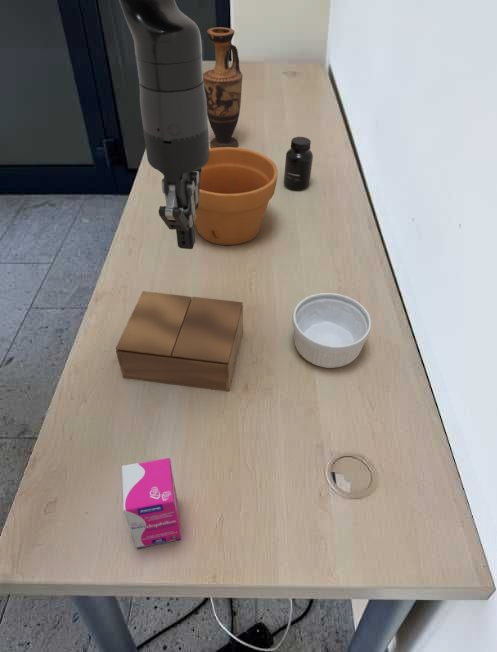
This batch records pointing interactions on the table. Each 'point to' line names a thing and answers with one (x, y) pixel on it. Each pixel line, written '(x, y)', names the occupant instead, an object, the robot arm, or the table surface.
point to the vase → (223, 89)
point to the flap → (154, 324)
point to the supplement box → (151, 502)
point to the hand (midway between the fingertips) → (186, 245)
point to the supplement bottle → (298, 164)
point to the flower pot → (234, 194)
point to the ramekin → (330, 329)
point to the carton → (194, 349)
